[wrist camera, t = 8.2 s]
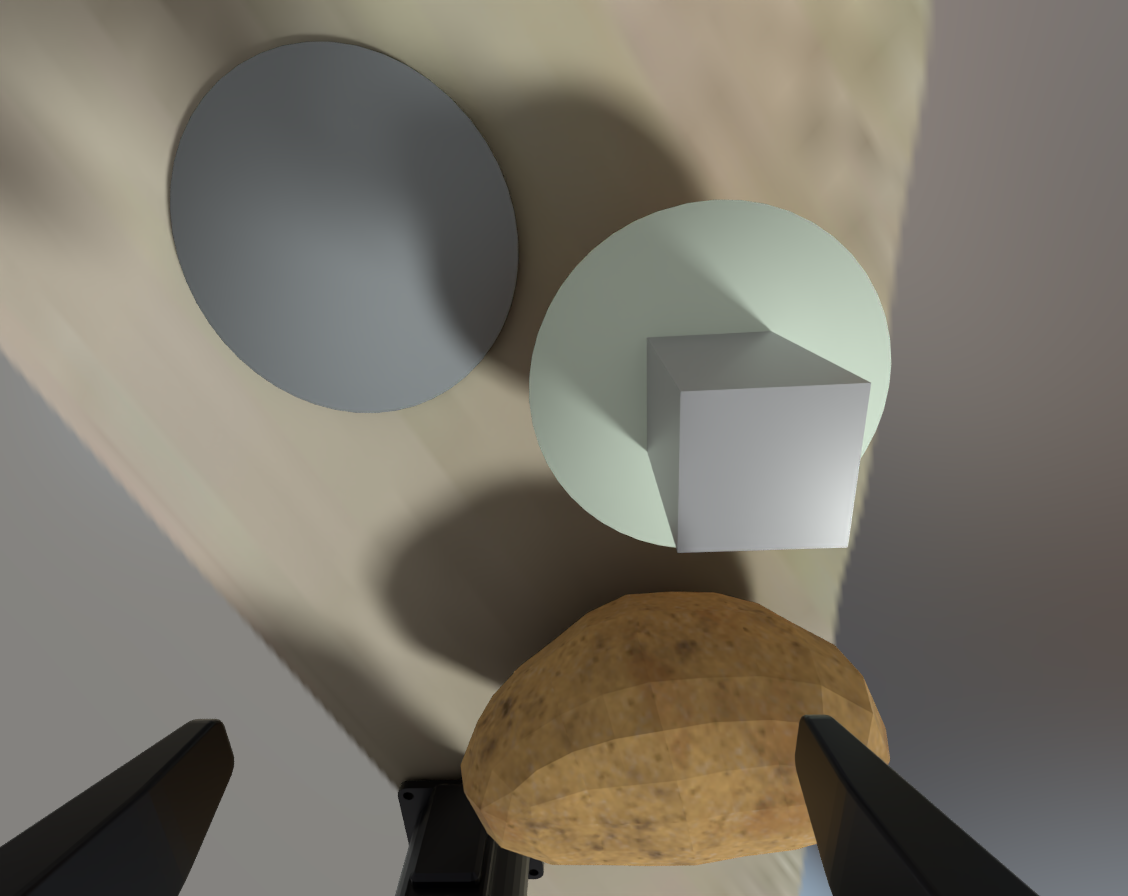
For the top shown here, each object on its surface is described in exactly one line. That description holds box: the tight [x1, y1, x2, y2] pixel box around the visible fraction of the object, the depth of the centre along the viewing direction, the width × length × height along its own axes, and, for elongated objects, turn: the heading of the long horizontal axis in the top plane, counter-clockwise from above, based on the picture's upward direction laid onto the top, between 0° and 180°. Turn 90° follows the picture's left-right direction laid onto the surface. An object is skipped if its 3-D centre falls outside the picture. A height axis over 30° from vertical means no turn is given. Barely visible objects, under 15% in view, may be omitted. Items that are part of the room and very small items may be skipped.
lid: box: [529, 200, 891, 553], centre depth 12 cm, size 9×9×6 cm
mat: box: [170, 42, 519, 413], centre depth 18 cm, size 11×11×1 cm
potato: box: [461, 592, 890, 866], centre depth 20 cm, size 10×14×8 cm
